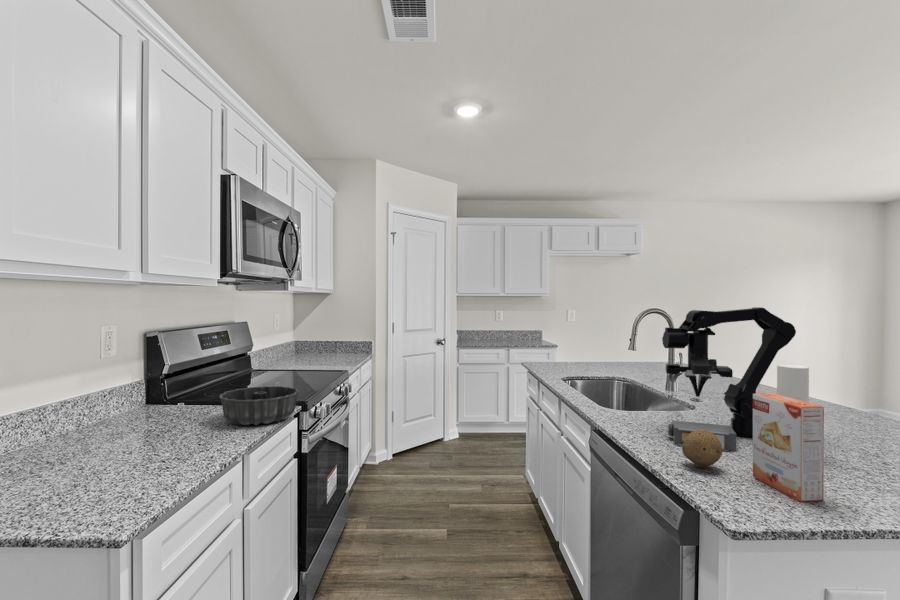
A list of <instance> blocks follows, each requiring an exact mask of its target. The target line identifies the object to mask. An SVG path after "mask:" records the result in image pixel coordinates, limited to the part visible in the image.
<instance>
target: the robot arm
mask: <svg viewBox="0 0 900 600" xmlns="http://www.w3.org/2000/svg"><path fill="white" fill-rule="evenodd" d="M747 321H754V322H755V323H756V324H757V326H758V327H759V328H761V329H762V330H763V331H762V334H761V345H760V346H759V348H758V349H757V351H756V353H755V355H754V356H753V359H752V360H751V362H750V363H749V366H748V367H747V368H746V371H745V373H744V374H743V376H742V378H741V379H740V381H739V382H737V383H736V384H733V383H730V384H729V385H728V387H727V390H726V391H725V392H724V393H723V395H724V398H723V400H724V404H725V405H726V406H727V408H729V410H730V412H731V413H732V417H730V426H731V428H732V429H733V430H734V432H735V433H736V437H743V438H753V394H755V393H757V389H758V387H759V386H760V383H761V382H762V381H763V380H762V379H763V378H764V376H765V375H766V373H767V372H768V369H769V367H770V366H771V364H772V362H773V361H774V359H775V358H776V356H777V354H778V352H779V351H780V350H781V349H783V348H784V347H785V346H788V345H789V343H790V342H791V341H792V340H793V339H794V337H796V333H797V330H796V327H795V326H794V324H792V323H790V322H788V321H784V320H783V319H782V318H780V317H779V316H777V315H776V314H773V313H772V312H770V311H769V310H767V309H766V308H764V307H758V306H757V307H751V308H750V307H749V308H741V309H728V310H721V311H719V310H718V311H713V310H701V309H700V310H698V309H697V310H696V309H692V310H690V311H688V313H686V315H685V320H684V321H683V322H682V323H681V324H680V326H679V327H678V328H677V327H665V328H664V332H663V336H662V338H661V339H662V346H663V347H664V348H665V349H685V348H686V347H687V366H683V365H682V366H681V365H680V364H679V363H673V362H672V363H670V362H669V363H668V362H667V363H666V364H665V373H666V374H668V375H669V374H670V375H678V374H680V373H684V376H685V378H689V380H690V383H691V385H692V387H693V392H694V394H695V397H698V398H699V397H700V396H701V394H702V393H701V392H702V390H703V389H704V386H705V384H706V382H707V381H708V380H709V379H710V380H711V379H712V375H719V376H720V377H721V378H733V376H734V375H733V369H732V368H731V367H729V366H728V365H726V366H725V365H717V364H718V363H717V359H716V358H715V359H714V358H709V336H715V335H716V332H715V331H713V330H712V329H711V328H710V327H714V326H717V325H718V324H719V325H720V324H724V323H736V322H747ZM697 375H698V380H697Z"/></svg>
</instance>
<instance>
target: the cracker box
mask: <svg viewBox="0 0 900 600" xmlns="http://www.w3.org/2000/svg"><path fill="white" fill-rule="evenodd" d="M824 408H825V407H824V406H822V405H818V404H814V403H812V402H809V403H808V402H804V401H800V400H797V399H793V398H790V397H786V396H782V395H779V394H777V393H775V392H756V393H755V394H753V437H752V477H753V478H755V479H757V480H759V481H761V482H762V483H765V484H767V485H768V486H770V487H772V488H774V489H776V490H778V491H780V493H783V494H785V495H787V496H789V497H791V498H793V499H794V500H796V501H798V502H800V503H802V502H803V503H804V502H818V501H819V502H820V501H824V495H825V494H824V486H825V485H824V480H825V479H824V478H825V477H824V475H825V474H824V473H825V472H824V471H825V469H824V468H825V467H824V463H825V462H824V460H825V459H824V456H825V452H824V451H825V449H824V447H825V446H824V445H825V443H824V441H825V435H824V434H825V432H824V431H825V430H824V429H825V425H824V424H825V422H824V421H825V418H824V417H825V409H824Z"/></svg>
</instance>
